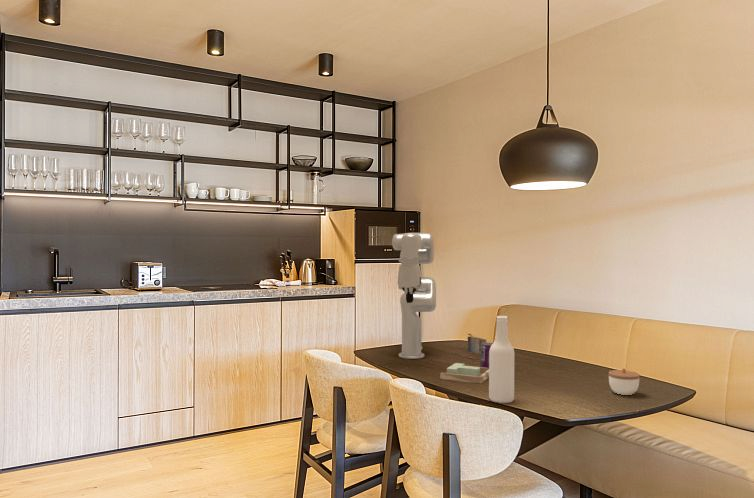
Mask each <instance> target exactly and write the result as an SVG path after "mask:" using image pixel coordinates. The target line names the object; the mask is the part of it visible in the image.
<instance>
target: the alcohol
mask: <svg viewBox="0 0 754 498" xmlns="http://www.w3.org/2000/svg"><path fill="white" fill-rule="evenodd" d="M495 318H496V323H495V324H496V325H495V337H494V341H493V342H492V343H493V344H492V345H491V347H490V350H489V378H488V398H489V399H490V401H491V402H493V403H497V402H498V404H509V403H512V402H513V401H514V400H515V349H514V347H513V346H512V344H511V343H510V340H509V328H508V322H509V320H508V316H507V315H497V316H496V317H495Z"/></svg>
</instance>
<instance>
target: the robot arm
mask: <svg viewBox="0 0 754 498" xmlns="http://www.w3.org/2000/svg"><path fill="white" fill-rule="evenodd" d="M434 243H435V242H434V237H433V235H432V234H431V233H429V232H405V233H395V234H393V237H392V239H391V245H392V248H393V250H394V251H400V255H399V259H398V262H399V263H400V264H399V267H398V272H397V288H398V289H399V290H402V291H403V292H404V293H402V294H401V296H400V298H399V302H400V309H401V352H399V353H398V357H399V358H402V359H407V360H408V359H409V360H410V359H411V360H413V359H415V360H416V359H422V358H424V357H425V353H423V352H422V350H423V346H422V319H421V318H420V316H419V314H417V313H424V312H425V313H431V312H434V311H435V310H436V307H437V285H436V284H437V283H436V281H435V279H434V278H433V277H430V276H428V277H427V276H422V272H421V266H420V265H423V264H424V265H428V264H432V263H433V262H434V259H435V244H434Z"/></svg>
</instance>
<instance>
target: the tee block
mask: <svg viewBox="0 0 754 498" xmlns="http://www.w3.org/2000/svg"><path fill="white" fill-rule="evenodd" d="M446 373H451V374H460V375H469V376H478V377H479V376H481V374H480V366H475V367H471V365H465V363H459V362H455V363H453V364H451V365H450V366H448V367H447V368H446Z"/></svg>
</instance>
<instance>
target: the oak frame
mask: <svg viewBox="0 0 754 498" xmlns="http://www.w3.org/2000/svg"><path fill="white" fill-rule="evenodd" d="M470 366H471V365H470ZM471 367H476V366H473V365H472V366H471ZM479 367H480V366H479ZM439 379H440V380H445V381H453V382H454V381H455V382H463V383H471V384H483V383H484V382H485V381H487V380H489V368H485V367H480V376H479V377H478V376H469V375H460V374H451V373H447V372H440V374H439Z"/></svg>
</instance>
